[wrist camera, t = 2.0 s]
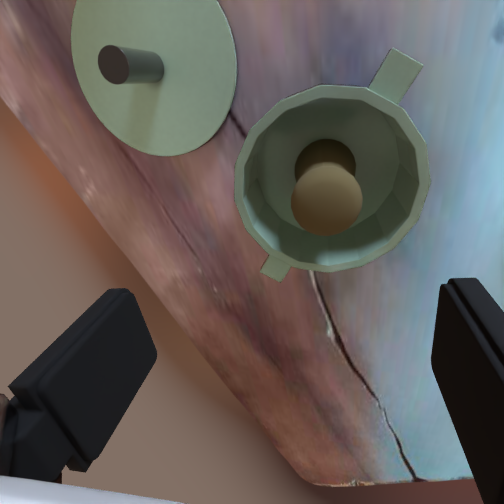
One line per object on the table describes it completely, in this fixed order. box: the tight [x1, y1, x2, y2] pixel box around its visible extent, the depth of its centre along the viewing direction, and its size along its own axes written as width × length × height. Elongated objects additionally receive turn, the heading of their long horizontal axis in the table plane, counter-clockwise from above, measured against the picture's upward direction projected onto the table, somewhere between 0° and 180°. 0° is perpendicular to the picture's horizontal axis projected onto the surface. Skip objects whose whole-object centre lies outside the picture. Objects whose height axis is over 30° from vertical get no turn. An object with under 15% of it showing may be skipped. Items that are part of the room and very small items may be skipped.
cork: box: [291, 139, 363, 236], centre depth 26 cm, size 6×6×11 cm
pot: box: [234, 48, 431, 283], centre depth 28 cm, size 15×21×7 cm
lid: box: [71, 0, 237, 156], centre depth 27 cm, size 16×16×7 cm
